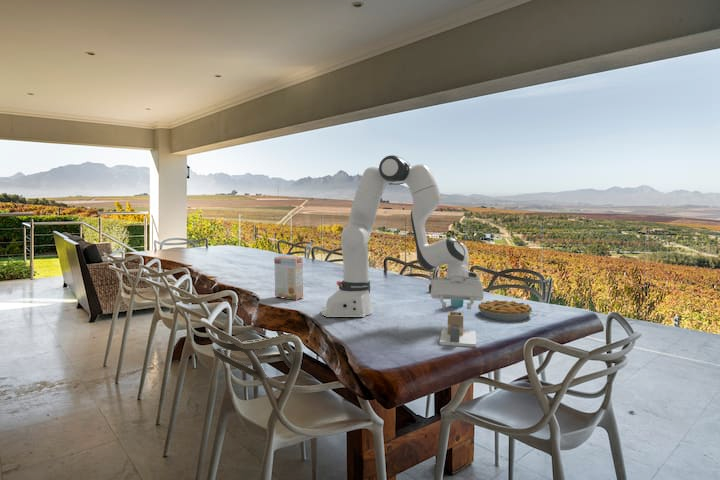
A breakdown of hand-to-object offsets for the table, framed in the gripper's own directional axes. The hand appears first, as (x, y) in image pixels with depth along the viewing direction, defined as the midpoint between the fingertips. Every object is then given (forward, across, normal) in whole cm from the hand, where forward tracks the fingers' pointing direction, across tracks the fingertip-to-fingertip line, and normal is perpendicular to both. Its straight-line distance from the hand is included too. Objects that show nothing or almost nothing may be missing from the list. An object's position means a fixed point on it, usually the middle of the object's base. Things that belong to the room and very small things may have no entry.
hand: (456, 307), depth 175 cm
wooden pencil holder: (+14, 0, -5) cm, 15 cm away
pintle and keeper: (+17, 0, -6) cm, 18 cm away
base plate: (+16, +1, -6) cm, 17 cm away
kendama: (-40, -6, +51) cm, 65 cm away
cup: (-19, -1, +30) cm, 36 cm away
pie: (-11, +20, +22) cm, 31 cm away
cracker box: (-20, -83, +31) cm, 91 cm away
